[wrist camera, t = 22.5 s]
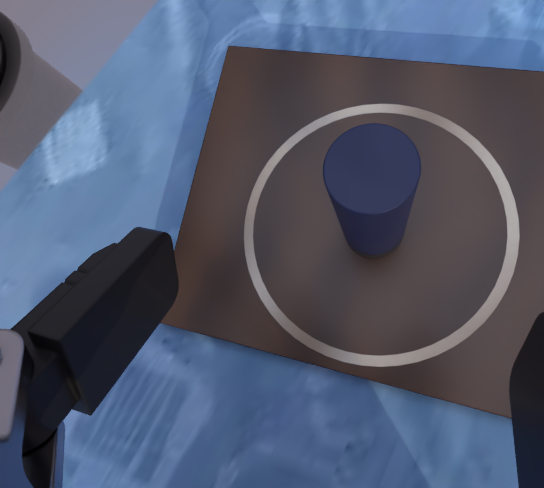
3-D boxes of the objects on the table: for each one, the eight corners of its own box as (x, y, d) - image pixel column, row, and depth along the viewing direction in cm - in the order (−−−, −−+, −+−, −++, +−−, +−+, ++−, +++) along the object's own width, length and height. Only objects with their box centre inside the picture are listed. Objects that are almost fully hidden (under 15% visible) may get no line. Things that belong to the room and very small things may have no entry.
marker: (339, 252, 22) (313, 205, 13) (351, 197, 22) (333, 117, 13) (397, 264, 21) (411, 222, 12) (409, 207, 21) (429, 128, 13)
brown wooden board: (163, 321, 24) (153, 321, 23) (233, 55, 26) (227, 43, 25) (521, 418, 20) (529, 424, 19) (575, 85, 22) (585, 72, 20)
